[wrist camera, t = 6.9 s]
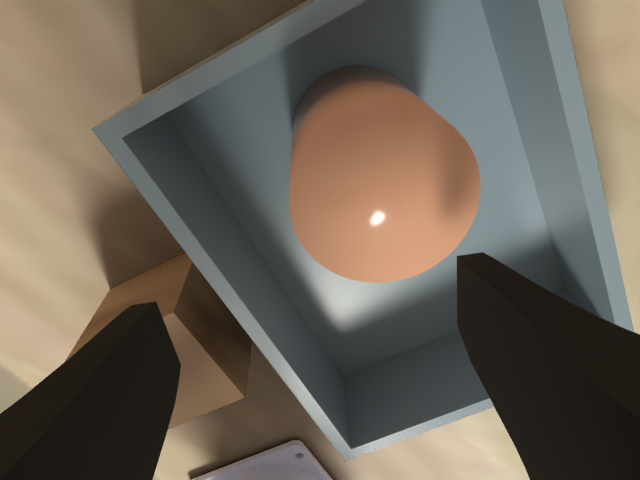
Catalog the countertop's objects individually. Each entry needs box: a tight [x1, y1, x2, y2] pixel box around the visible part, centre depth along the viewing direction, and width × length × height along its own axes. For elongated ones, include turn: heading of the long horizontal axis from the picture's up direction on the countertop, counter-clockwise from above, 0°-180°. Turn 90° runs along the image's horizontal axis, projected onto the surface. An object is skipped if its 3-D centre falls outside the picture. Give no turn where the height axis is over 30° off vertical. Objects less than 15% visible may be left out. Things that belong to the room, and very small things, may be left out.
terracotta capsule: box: [289, 65, 481, 283], centre depth 15 cm, size 5×5×7 cm
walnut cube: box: [65, 252, 252, 429], centre depth 20 cm, size 5×5×5 cm
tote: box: [92, 0, 634, 461], centre depth 18 cm, size 17×13×5 cm
